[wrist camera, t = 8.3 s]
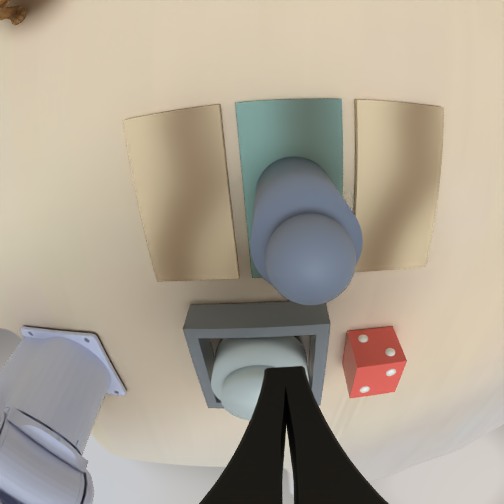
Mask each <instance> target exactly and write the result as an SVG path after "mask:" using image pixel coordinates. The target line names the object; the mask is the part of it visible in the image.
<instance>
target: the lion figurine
mask: <svg viewBox="0 0 504 504" xmlns="http://www.w3.org/2000/svg"><path fill="white" fill-rule="evenodd" d="M9 1H10V0H0V20H3V19H10V20H11V22H12V24H14V25H16V24H19V23H20V22H22V20H23V19H24V17H25V15H26V10H25V9H24V8H21V7H20V6H14V7H7V6H8V5H9Z"/></svg>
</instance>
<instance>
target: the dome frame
mask: <svg viewBox="0 0 504 504" xmlns="http://www.w3.org/2000/svg"><path fill="white" fill-rule="evenodd" d="M183 331H184V334H185V338H186V341H187V344H188V348H189V351H190V354H191V357H192V361H193V364H194V367H195V370H196V373H197V376H198V379H199V382H200V385H201V388H202V391H203V394H204V397H205V400H206V403H207V406H208V408H224V407H223V405H222V402H221V401H220V400H219V399H218V398H217V397H216V396H215V394H214V393H213V391H212V388H211V378H212V372H213V366H214V360H215V359H214V354H213V350H212V346H211V342H210V338H257V337H282V336H300V335H311V342H310V359H309V373H308V378H309V385H310V387H311V390H312V392H313V395H314V397H315V400H316V402H317V404H318V405H320V404H321V397H322V390H323V383H324V375H325V368H326V360H327V351H328V342H329V333H330V320H329V315H328V311H327V307H326V303H323V304H319V305H302V304H298V303H295V302H292V301H285V302H264V303H238V304H201V305H190V308H189V311H188V314H187V317H186V320H185V324H184V327H183Z"/></svg>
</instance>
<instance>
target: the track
mask: <svg viewBox="0 0 504 504" xmlns="http://www.w3.org/2000/svg"><path fill="white" fill-rule="evenodd" d="M235 104H236V115H237V125H238V136H239V146H240V157H241V167H242V178H243V188H244V199H245V209H246V220H247V230H248V241H249V251H250V261H251V272H252V278H260V277H262V276H261V275H260V273H259V272H258V270H257V269H256V267H255V265H254V262H253V259H252V255H251V235H252V225H253V214H254V203H255V193H256V186H257V182H258V179H259V177H260V175H261V174H262V172H263V171H264V170H265V169H266V168H267V167H268V166H269V165H270V164H272V163H273V162H275V161H277V160H279V159H282V158H285V157H292V156H294V157H303V158H307V159H309V160H311V161H313V162H315V163H317V164H318V165H319V166H320V167H321V168H322V169H323V170H324V171H325V173H326V174H327V175H328V177H329V178H330V180H331V181H332V183H333V184H334V185H335V187H336V188H337V190H338V191H339V193H340V194H341V196H342V192H343V130H342V99H283V100H264V101H250V102H238V103H235ZM123 125H124V132H125V138H126V144H127V150H128V156H129V161H130V167H131V172H132V177H133V182H134V187H135V192H136V197H137V202H138V206H139V211H140V215H141V220H142V224H143V228H144V232H145V237H146V241H147V245H148V249H149V253H150V256H151V260H152V264H153V268H154V272H155V275H156V279H157V281H186V280H214V279H238V278H239V269H238V261H237V252H236V244H235V235H234V227H233V218H232V209H231V200H230V191H229V182H228V173H227V164H226V155H225V146H224V136H223V127H222V117H221V107H220V104H218V105H210V106H202V107H194V108H187V109H181V110H174V111H168V112H162V113H157V114H151V115H146V116H141V117H136V118H131V119H127V120H123ZM443 127H444V108H443V107H437V106H430V105H422V104H413V103H403V102H392V101H378V100H360V99H355V131H356V162H355V200H354V215H355V217H356V218H357V220H358V222H359V224H360V227H361V231H362V238H363V245H362V251H361V255H360V258H359V260H358V262H357V264H356V266H355V271H354V272H364V271H379V270H392V269H406V268H418V267H426V264H427V259H428V254H429V249H430V244H431V239H432V233H433V227H434V221H435V214H436V208H437V200H438V192H439V183H440V174H441V162H442V148H443Z"/></svg>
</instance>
